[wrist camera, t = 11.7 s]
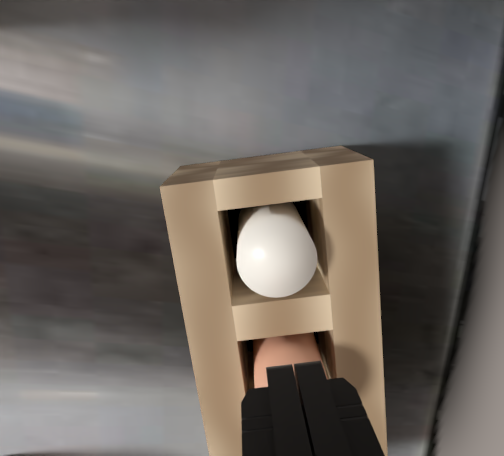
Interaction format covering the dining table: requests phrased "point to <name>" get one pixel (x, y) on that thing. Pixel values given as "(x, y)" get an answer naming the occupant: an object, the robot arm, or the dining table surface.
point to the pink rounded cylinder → (283, 353)
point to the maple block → (282, 308)
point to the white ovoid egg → (274, 250)
